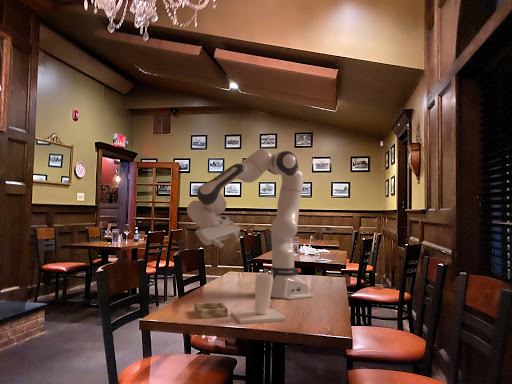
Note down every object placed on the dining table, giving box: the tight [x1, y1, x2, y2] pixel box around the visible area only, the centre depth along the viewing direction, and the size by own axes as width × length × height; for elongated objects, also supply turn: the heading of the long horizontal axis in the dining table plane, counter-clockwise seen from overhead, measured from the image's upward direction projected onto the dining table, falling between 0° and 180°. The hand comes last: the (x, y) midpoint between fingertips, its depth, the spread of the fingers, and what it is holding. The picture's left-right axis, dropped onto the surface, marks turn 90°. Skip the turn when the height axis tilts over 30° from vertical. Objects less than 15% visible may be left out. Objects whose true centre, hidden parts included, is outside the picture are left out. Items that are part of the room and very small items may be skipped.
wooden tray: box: [193, 301, 229, 320], centre depth 149 cm, size 11×11×3 cm
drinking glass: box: [254, 272, 273, 314], centre depth 147 cm, size 7×7×15 cm
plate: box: [230, 308, 287, 325], centre depth 145 cm, size 18×14×1 cm
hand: (230, 243), depth 163 cm, fingers open, 8 cm apart
